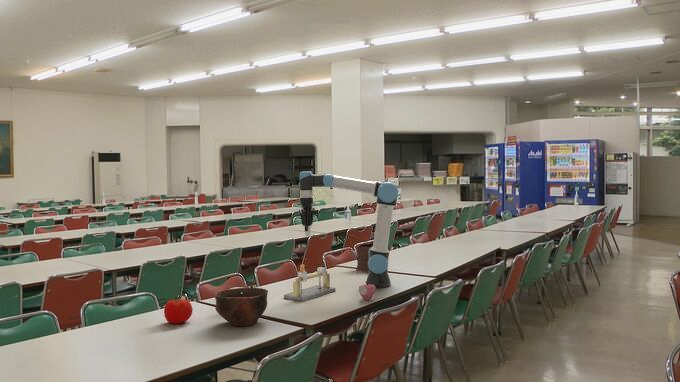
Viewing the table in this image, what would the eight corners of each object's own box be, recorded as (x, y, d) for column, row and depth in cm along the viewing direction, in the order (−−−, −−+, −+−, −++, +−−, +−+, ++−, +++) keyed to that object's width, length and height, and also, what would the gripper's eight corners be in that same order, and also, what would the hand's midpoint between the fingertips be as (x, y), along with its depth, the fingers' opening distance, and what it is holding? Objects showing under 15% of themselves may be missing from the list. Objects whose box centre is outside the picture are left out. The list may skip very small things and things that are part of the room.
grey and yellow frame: (335, 291, 324) (335, 267, 324) (302, 301, 300) (302, 275, 300) (317, 288, 333) (316, 265, 332) (283, 298, 309) (283, 273, 308)
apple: (355, 300, 302) (355, 282, 301) (365, 297, 308) (365, 279, 307) (369, 302, 295) (368, 284, 295) (379, 299, 301) (378, 281, 301)
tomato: (169, 319, 269) (168, 295, 269) (196, 318, 269) (195, 295, 269) (160, 326, 257) (159, 301, 257) (188, 326, 257) (187, 301, 256)
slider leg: (307, 293, 309) (306, 264, 308) (303, 294, 306) (303, 265, 306) (301, 292, 311) (301, 264, 311) (298, 293, 309) (297, 265, 308)
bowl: (248, 313, 278) (248, 283, 277) (279, 322, 260) (278, 291, 259) (205, 323, 260) (204, 292, 259) (234, 334, 242) (233, 300, 242)
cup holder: (382, 271, 383) (381, 236, 382) (348, 272, 383) (347, 236, 382) (380, 266, 402) (380, 232, 401) (347, 267, 402) (347, 233, 401)
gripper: (308, 196, 333) (309, 235, 334) (294, 197, 323) (296, 237, 323) (318, 196, 329) (319, 235, 330) (304, 198, 318) (306, 238, 319)
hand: (307, 236), depth 327 cm, fingers closed
